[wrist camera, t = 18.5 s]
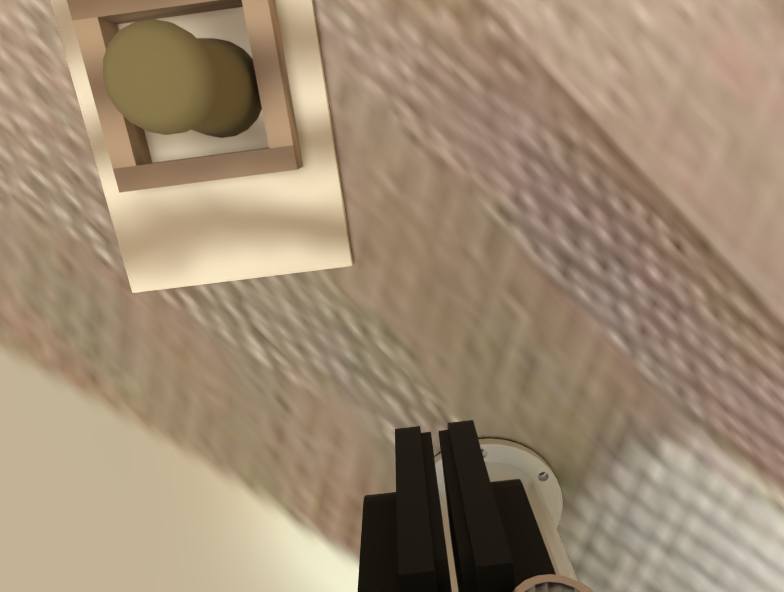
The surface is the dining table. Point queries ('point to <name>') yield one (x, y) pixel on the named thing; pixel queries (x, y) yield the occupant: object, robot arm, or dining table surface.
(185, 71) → the cork
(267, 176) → the socket stand
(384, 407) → the dining table surface
